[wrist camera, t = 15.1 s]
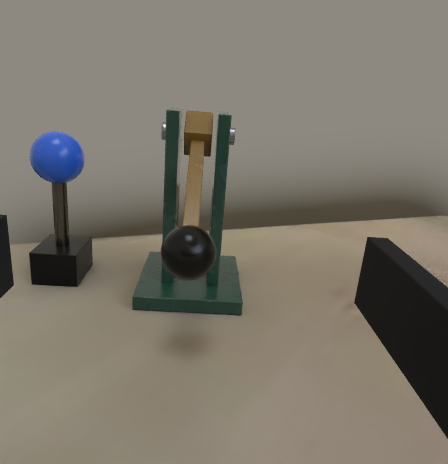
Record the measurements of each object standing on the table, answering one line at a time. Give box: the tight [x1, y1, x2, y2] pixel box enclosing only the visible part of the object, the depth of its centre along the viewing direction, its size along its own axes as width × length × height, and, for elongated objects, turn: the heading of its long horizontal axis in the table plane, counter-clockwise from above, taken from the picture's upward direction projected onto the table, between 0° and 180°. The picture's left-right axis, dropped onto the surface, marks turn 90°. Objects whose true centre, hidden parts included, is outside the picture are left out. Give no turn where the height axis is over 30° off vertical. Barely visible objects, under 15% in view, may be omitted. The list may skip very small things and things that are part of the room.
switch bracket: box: [133, 108, 243, 315], centre depth 35 cm, size 10×9×16 cm
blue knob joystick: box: [29, 131, 93, 286], centre depth 36 cm, size 4×5×13 cm
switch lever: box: [161, 111, 216, 281], centre depth 30 cm, size 15×4×4 cm
